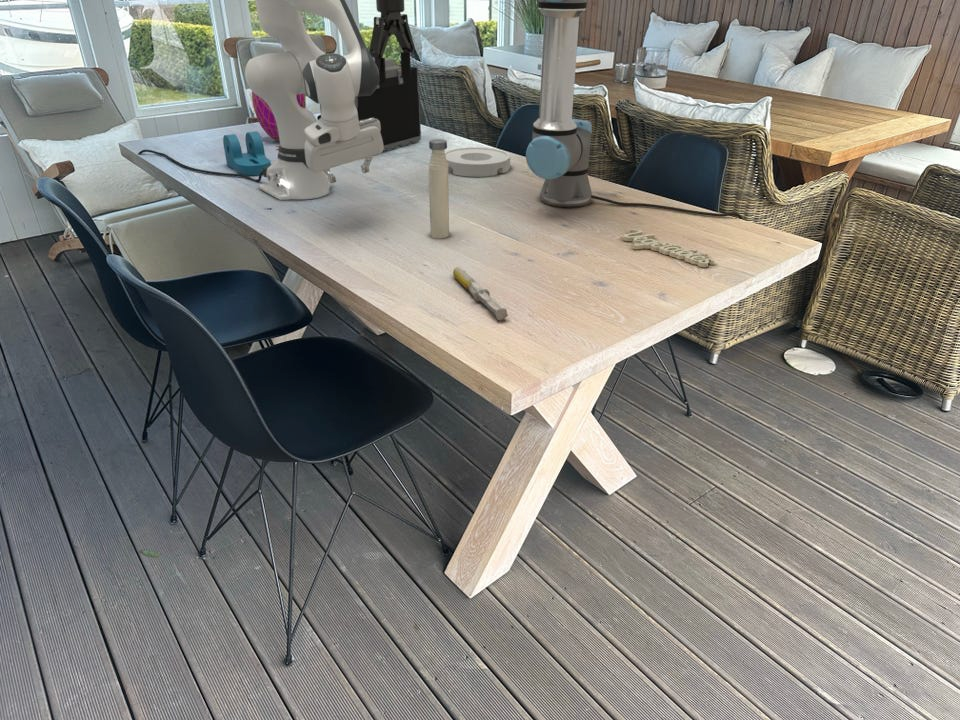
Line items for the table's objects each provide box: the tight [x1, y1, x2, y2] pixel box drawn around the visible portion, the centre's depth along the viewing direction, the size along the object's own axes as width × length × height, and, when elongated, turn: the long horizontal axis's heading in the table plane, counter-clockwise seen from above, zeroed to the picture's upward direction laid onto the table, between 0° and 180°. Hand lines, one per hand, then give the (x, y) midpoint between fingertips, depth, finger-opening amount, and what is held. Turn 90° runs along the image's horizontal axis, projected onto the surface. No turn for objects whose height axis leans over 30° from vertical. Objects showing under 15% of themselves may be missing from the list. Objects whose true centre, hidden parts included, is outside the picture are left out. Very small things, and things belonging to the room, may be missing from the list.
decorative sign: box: [622, 228, 715, 268], centre depth 169 cm, size 26×1×10 cm
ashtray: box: [444, 146, 511, 178], centre depth 232 cm, size 23×23×4 cm
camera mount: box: [222, 131, 272, 176], centre depth 226 cm, size 18×10×10 cm, turn 35°
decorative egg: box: [251, 91, 307, 141], centre depth 257 cm, size 19×19×30 cm
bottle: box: [428, 149, 450, 239], centre depth 171 cm, size 5×5×23 cm
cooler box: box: [316, 57, 422, 151], centre depth 250 cm, size 37×22×30 cm, turn 144°
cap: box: [428, 138, 448, 151], centre depth 165 cm, size 4×4×2 cm
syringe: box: [452, 266, 509, 321], centre depth 145 cm, size 25×4×3 cm, turn 21°
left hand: (349, 176), depth 178 cm, fingers open, 8 cm apart
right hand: (394, 80), depth 195 cm, fingers open, 13 cm apart
